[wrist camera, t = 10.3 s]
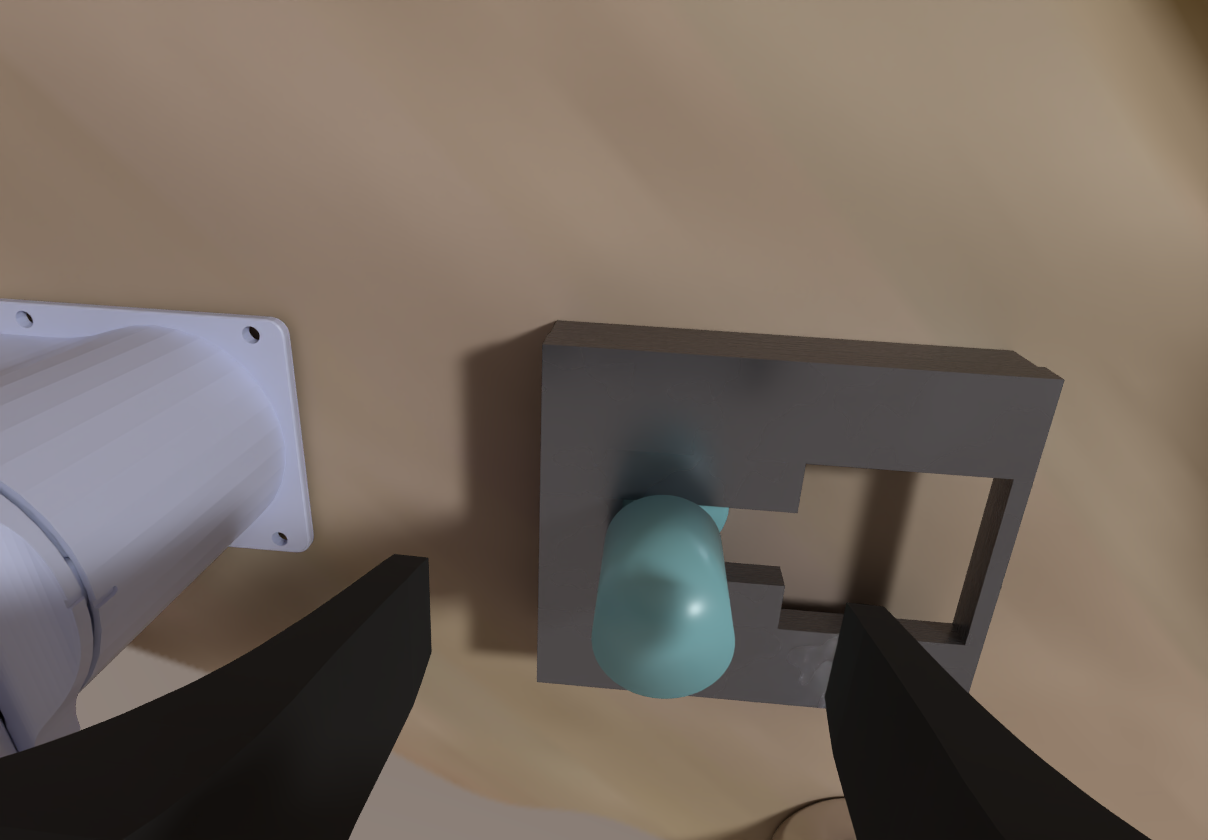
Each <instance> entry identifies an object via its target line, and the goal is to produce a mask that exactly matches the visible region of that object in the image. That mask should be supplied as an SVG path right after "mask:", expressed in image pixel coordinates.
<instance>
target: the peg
mask: <svg viewBox="0 0 1208 840" xmlns="http://www.w3.org/2000/svg"><path fill="white" fill-rule="evenodd" d="M728 510H729V508H727V507H714V506H701V505H697V504H695V503H694V502H691V501H689V500H687V499H684V498H681V497H677V496H672V495H653V496H647V497H644V498H640V499H638V500H625V499H623V508H622V509H621V510H620V511H619V512H618V513H617V514H616V515H615V517H614V518H613V519H612V521H611V523H610V524H609V526H608V529H607V532H606V536H605V542H604V549H603V556H602V564H601V571H600V578H599V585H598V592H597V600H596V607H595V614H594V621H593V628H592V648H593V652H594V655H595V658H596V660H597V662H598V664H599V665H600V667H601V669H602V670H603V671H604V672H605V673H606V675H607V676H608V677H609V678H611V679H612V680H613V681H614V682H615V683H617V684H618V685H620V686H621V687H623V688H625V689H627V690H629V691H631V692H633V693H636V694H639V695H642V696H647V697H652V698H661V699H668V698H679V697H684V696H688V695H691V694H694V693H697V692H699V691H701V690H704V689H705V688H707V687H709V686H710V685H712V684H713V683H714V682H715V681H717V680H718V679H719V678H720V677H721V676H722V675H723V674H724V672H725V671H726V669H727V668H728V666H729V664H730V662H731V660H732V657H733V654H734V648H735V635H734V628H733V621H732V614H731V607H730V599H729V592H728V585H727V578H726V570H725V563H724V556H723V549H722V542H721V536H720V531H721V530H722V528H723V526H724V524H725V522H726V519H727V515H728Z"/></svg>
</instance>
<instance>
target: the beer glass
mask: <svg viewBox="0 0 1208 840" xmlns="http://www.w3.org/2000/svg"><path fill="white" fill-rule="evenodd" d="M771 840H857V839H856V835H855V832H854V828H853V825H852V821H851V818H850V814H849V811H848V807H847V804H846V800H845V798H837V799H830V800H825V801H821V802H817V803H814V804H812V805H809V806H807V807H804V808H802V809H800V810H799V811H797V812H795V813H794V814H792V815H791V816H790V817H788V818H787V819H786V820H785V821H784V822H783V823H782V824H781V825H780V826H779V827H778V829H777V830H776V832H775V833H774V835H773V837H772V839H771Z"/></svg>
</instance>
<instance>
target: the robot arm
mask: <svg viewBox="0 0 1208 840" xmlns="http://www.w3.org/2000/svg"><path fill="white" fill-rule="evenodd" d="M26 312H27V313H28V314H29V315H31V317H32V319H33V323H32V322H30V321H29V320H28V318H27V316H26ZM250 326H251V327H254V328H255V329H256V330H257V331H258V332H259V335H260V338H259V340H257V339H254V338H253V337H252V336H251V334H250V332H249V328H250ZM278 532H280V533H283V534H284V535H285V536H286V537H287V539H288V540H286V539H282V538H281V537H280V536H279V534H278ZM313 539H314V533H313V525H312V517H311V508H310V500H309V492H308V483H307V475H306V467H305V458H304V450H303V442H302V434H301V425H300V417H299V409H298V400H297V392H296V384H295V375H294V367H293V359H292V350H291V342H290V334H289V331H288V328H287V326H286V325H285V324H284V322H282V321H281V320H279V319H278V318H274V317H268V316H253V315H238V314H223V313H209V312H194V311H179V310H164V309H150V308H135V307H120V306H105V305H90V304H76V303H61V302H46V301H31V300H16V299H2V298H0V840H348V839H349V837H350V835H351V833H352V830H353V828H354V826H355V824H356V822H357V819H358V817H359V815H360V813H361V811H362V809H363V807H364V805H365V803H366V801H367V799H368V797H369V795H370V793H371V791H372V789H373V787H374V785H375V783H376V781H377V779H378V777H379V775H380V773H381V771H382V769H383V767H384V765H385V762H386V761H387V759H388V757H389V755H390V753H391V751H392V749H393V746H394V744H395V742H396V740H397V738H398V736H399V734H400V732H401V730H402V728H403V726H404V724H405V722H406V720H407V718H408V715H409V713H410V711H411V709H412V707H413V705H414V702H415V699H416V696H417V694H418V691H419V688H420V685H421V682H422V679H423V676H424V673H425V670H426V667H427V664H428V661H429V658H430V655H431V652H432V650H431V621H430V592H429V563H428V558H426V557H417V556H407V555H398V554H394V555H392V556H391V557H389V558H388V559H386V560H385V561H383V562H382V563H381V564H379V565H378V566H376V567H375V568H374V569H372V570H371V571H370V572H368V573H367V574H365V575H364V576H363V577H361V578H360V579H359V580H357V581H356V582H354V583H353V584H352V585H350V586H349V587H347V588H346V589H345V590H343V591H342V592H340V593H339V594H338V595H336V596H335V597H333V598H332V599H330V600H329V601H328V602H326V603H325V604H323V605H322V606H320V607H319V608H318V609H316V610H315V611H313V612H312V613H310V614H309V615H307V616H306V617H304V618H303V619H301V620H300V621H298V622H296V623H295V624H293V625H292V626H290V627H289V628H287V629H285V630H284V631H282V632H281V633H279V634H277V635H276V636H274V637H273V638H271V639H270V640H268V641H266V642H265V643H263V644H262V645H260V646H259V647H257V648H255V649H253V650H252V651H250V652H248V653H247V654H245V655H243V656H241V657H240V658H238V659H236V660H234V661H232V662H231V663H229V664H227V665H225V666H223V667H221V668H219V669H217V670H215V671H214V672H212V673H210V674H208V675H206V676H204V677H202V678H200V679H198V680H196V681H194V682H192V683H190V684H188V685H186V686H184V687H182V688H180V689H177V690H175V691H173V692H171V693H168V694H166V695H164V696H162V697H160V698H157V699H155V700H153V701H151V702H148V703H146V704H144V705H142V706H139V707H137V708H135V709H133V710H131V711H128V712H126V713H124V714H121V715H119V716H116V717H114V718H111V719H109V720H106V721H104V722H101V723H99V724H96V725H93V726H91V727H88V728H86V729H83V730H81V731H79V730H80V725H79V722H78V719H77V716H76V707H75V706H76V698H77V696H78V693H79V692H80V691H81V690H82V689H83V688H84V687H85V686H87V684H89V683H90V681H92V680H93V678H95V677H96V675H97V674H99V673H100V672H101V671H102V670H103V669H104V668H105V667H106V666H107V665H108V664H109V663H110V662H111V661H112V660H113V659H114V658H115V657H116V656H117V655H118V654H119V653H120V652H121V651H122V650H123V649H124V648H125V647H126V646H127V645H128V644H129V643H130V642H131V641H132V640H133V639H134V638H136V637H137V636H138V635H139V634H140V633H141V632H142V631H143V630H144V629H145V628H146V627H147V626H148V625H149V624H150V623H151V622H152V621H153V620H154V619H155V618H156V617H157V616H158V615H159V614H160V613H161V612H162V611H163V610H164V609H165V608H166V607H167V606H168V605H169V604H170V603H171V602H172V601H173V600H174V599H175V598H176V597H177V596H178V595H179V594H180V593H181V592H182V591H183V590H185V589H186V588H187V587H188V586H189V585H190V584H191V583H192V582H193V581H194V580H195V579H196V578H197V577H198V576H199V575H200V574H201V573H202V572H203V571H204V570H205V569H206V568H207V567H208V566H209V565H210V564H211V563H212V562H213V561H214V560H215V559H216V558H217V557H218V556H219V555H220V554H221V553H222V552H223V551H224V550H225V549H226V548H227V547H238V548H250V549H262V550H274V551H286V552H303V551H305V550H307V549H308V547H309V546H310V545H311V544H312V542H313ZM825 703H826V711H827V718H828V725H829V732H830V738H831V745H832V751H833V756H834V760H835V764H836V767H837V771H838V775H839V778H840V782H841V786H842V789H843V793H844V797H845V800H846V804H847V807H848V811H849V814H850V818H851V821H852V825H853V828H854V832H855V835H856V839H857V840H1151V839H1150V838H1148V837H1147V836H1145V835H1144V834H1142V833H1141V832H1139V831H1138V830H1137V829H1135V828H1134V827H1132V826H1131V825H1129V824H1128V823H1126V822H1125V821H1124V820H1122V819H1121V818H1119V817H1118V816H1116V815H1115V814H1113V813H1112V812H1110V811H1109V810H1108V809H1106V808H1105V807H1104V806H1102V805H1101V804H1100V803H1098V802H1097V801H1095V800H1094V799H1093V798H1091V797H1090V796H1089V795H1087V794H1086V793H1085V792H1083V791H1082V790H1081V789H1079V788H1078V787H1077V786H1076V785H1074V784H1073V783H1072V782H1071V781H1069V780H1068V779H1067V778H1065V777H1064V776H1063V775H1062V774H1060V773H1059V772H1058V771H1057V770H1055V769H1054V768H1053V767H1051V766H1050V765H1049V764H1048V763H1046V762H1045V761H1044V760H1043V759H1041V758H1040V757H1039V756H1038V755H1037V754H1035V753H1034V752H1033V751H1032V750H1031V749H1029V748H1028V747H1027V746H1026V745H1025V744H1024V743H1022V742H1021V741H1020V740H1019V739H1018V738H1017V737H1016V736H1015V735H1013V734H1012V733H1011V732H1010V731H1009V730H1008V729H1007V728H1006V727H1004V726H1003V725H1002V724H1001V723H1000V722H999V721H998V720H997V719H996V718H994V717H993V716H992V715H991V714H990V713H989V712H988V711H987V710H986V709H985V708H984V707H983V706H982V705H980V704H979V703H978V702H977V701H976V700H975V699H974V698H973V697H972V696H971V695H970V694H969V693H968V692H967V691H966V690H965V689H964V688H963V687H962V686H961V685H960V684H959V683H958V682H957V681H956V680H955V679H954V678H953V677H952V676H951V675H950V674H949V673H948V672H947V671H946V670H945V669H944V668H943V667H942V666H941V665H940V664H939V663H938V662H937V661H936V660H935V659H934V658H933V657H932V656H931V655H930V654H929V653H928V652H927V651H926V650H925V649H924V648H923V647H922V645H921V644H920V643H919V642H918V641H917V640H916V639H915V638H914V637H913V636H912V635H911V634H910V633H909V632H908V631H907V630H906V629H905V628H904V627H903V626H902V625H901V624H900V622H899V621H898V620H897V619H896V618H895V617H894V616H893V615H892V614H891V613H890V612H889V611H888V610H887V609H886V608H884V607H883V606H874V605H864V604H855V603H846V607H845V612H844V616H843V620H842V625H841V629H840V633H839V637H838V642H837V646H836V650H835V655H834V659H833V663H832V668H831V672H830V676H829V681H828V685H827V689H826V693H825Z"/></svg>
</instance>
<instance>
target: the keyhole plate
mask: <svg viewBox="0 0 1208 840" xmlns="http://www.w3.org/2000/svg"><path fill="white" fill-rule="evenodd" d="M1063 383H1064V379H1063V378H1061V377H1059V376H1058V375H1056V374H1055V373H1053V372H1052V371H1050V370H1049V369H1047V368H1045V367H1037V366H1036V365H1034V364H1033V363H1031V362H1030V361H1028V360H1027V359H1025V358H1024V357H1022V356H1021V355H1019V354H1017V353H1016V352H1014V351H1009V350H994V349H979V348H964V347H949V346H934V345H919V344H904V343H889V342H874V341H859V340H844V339H829V338H814V337H799V336H784V335H769V334H754V333H739V332H724V331H709V330H694V329H679V328H664V327H649V326H634V325H619V324H604V323H589V322H574V321H559V320H557V321H556V323H555V325H554V327H553V329H552V331H551V333H550V334H548V335H547V337H546V339H545V341H544V342H543V345H542V405H541V465H540V525H539V585H538V645H537V682H543V683H554V684H565V685H576V686H587V687H598V688H609V689H620V690H627V689H625V688H623V687H621V686H620V685H618V684H617V683H615V682H614V681H613V680H612V679H611V678H609V677H608V676H607V675H606V673H605V672H604V671H603V670H602V669H601V667H600V665H599V664H598V662H597V660H596V658H595V655H594V652H593V648H592V628H593V621H594V614H595V607H596V600H597V592H598V585H599V578H600V571H601V564H602V556H603V549H604V542H605V536H606V532H607V529H608V526H609V524H610V523H611V521H612V519H613V518H614V517H615V515H616V514H617V513H618V512H619V511H620V510H621V509H622V508H623V499H625V500H638V499H640V498H644V497H647V496H653V495H672V496H677V497H681V498H684V499H687V500H689V501H691V502H694V503H695V504H697V505H701V506H714V507H727V508H739V509H752V510H765V511H777V512H790V513H798V507H799V501H800V495H801V489H802V483H803V478H804V472H805V466H806V464H816V465H830V466H843V467H856V468H869V469H883V470H896V471H909V472H923V473H936V474H949V475H962V476H976V477H989V478H993V482H992V486H991V489H990V493H989V496H988V500H987V503H986V507H985V510H984V514H983V517H982V521H981V525H980V528H979V532H978V535H977V539H976V542H975V546H974V549H973V553H972V556H971V560H970V563H969V567H968V571H967V574H966V578H965V581H964V585H963V588H962V592H961V595H960V599H959V602H958V606H957V609H956V613H955V617H954V620H953V623H942V622H930V621H918V620H906V619H897V620H898V621H899V622H900V624H901V625H902V626H903V627H904V628H905V629H906V630H907V631H908V632H909V633H910V634H911V635H912V636H913V637H914V638H915V639H916V640H917V641H918V642H919V643H920V644H921V645H922V647H923V648H924V649H925V650H926V651H927V652H928V653H929V654H930V655H931V656H932V657H933V658H934V659H935V660H936V661H937V662H938V663H939V664H940V665H941V666H942V667H943V668H944V669H945V670H946V671H947V672H948V673H949V674H950V675H951V676H952V677H953V678H954V679H955V680H956V681H957V682H958V683H959V684H960V685H961V686H962V687H963V688H964V689H965V690H966V691H967V692H968V693H969V690H970V687H971V684H972V680H973V677H974V674H975V671H976V667H977V664H978V661H979V658H980V654H981V651H982V648H983V644H984V641H985V638H986V635H987V631H988V628H989V625H990V622H991V618H992V615H993V612H994V609H995V605H996V602H997V599H998V596H999V592H1000V589H1001V586H1002V582H1003V579H1004V576H1005V573H1006V569H1007V566H1008V563H1009V560H1010V556H1011V553H1012V550H1013V547H1014V543H1015V540H1016V537H1017V534H1018V530H1019V527H1020V524H1021V520H1022V517H1023V514H1024V511H1025V507H1026V504H1027V501H1028V498H1029V494H1030V491H1031V488H1032V485H1033V481H1034V478H1035V475H1036V472H1037V468H1038V465H1039V462H1040V458H1041V455H1042V452H1043V449H1044V445H1045V442H1046V439H1047V436H1048V432H1049V429H1050V426H1051V423H1052V419H1053V416H1054V413H1055V410H1056V406H1057V403H1058V400H1059V396H1060V393H1061V390H1062V387H1063ZM724 563H725V570H726V578H727V585H728V592H729V599H730V607H731V614H732V621H733V628H734V635H735V648H734V654H733V657H732V660H731V662H730V664H729V666H728V668H727V669H726V671H725V672H724V674H723V675H722V676H721V677H720V678H719V679H718V680H717V681H715V682H714V683H713V684H712V685H710V686H709V687H707V688H705V689H704V690H701V691H699V692H697V693H694V694H691V695H688V696H696V697H707V698H717V699H728V700H739V701H750V702H761V703H772V704H783V705H794V706H805V707H815V708H826V703H825V693H826V689H827V685H828V681H829V676H830V672H831V668H832V663H833V659H834V655H835V650H836V646H837V642H838V637H839V633H840V629H841V625H842V620H843V616H844V614H836V613H824V612H813V611H801V610H789V609H781V606H782V600H783V595H784V589H785V585H784V581H783V577H782V573H781V570H780V567H777V566H765V565H753V564H741V563H729V562H724Z"/></svg>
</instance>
